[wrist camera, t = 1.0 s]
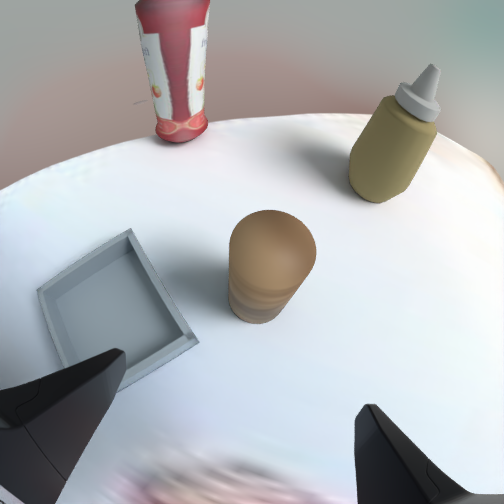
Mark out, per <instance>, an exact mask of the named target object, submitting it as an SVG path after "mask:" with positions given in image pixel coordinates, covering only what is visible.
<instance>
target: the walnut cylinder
mask: <svg viewBox="0 0 504 504" xmlns="http://www.w3.org/2000/svg"><path fill="white" fill-rule="evenodd" d="M315 259H316V245H315V241H314V239H313V236H312V234H311V233H310V231H309V230H308V228H307V227H306V226H305V225H304V224H303V223H302V222H301V221H300V220H298V219H297V218H295V217H294V216H292V215H290V214H288V213H285V212H281V211H276V210H262V211H258V212H255V213H252V214H250V215H248V216H246V217H245V218H243V219H242V220H241V221H240V222H239V223H238V224H237V225H236V227H235V228H234V230H233V232H232V234H231V238H230V243H229V284H228V299H229V304H230V307H231V309H232V310H233V312H234V313H235V314H236V315H237V316H238V317H239V318H240V319H242V320H244V321H246V322H248V323H253V324H262V323H266V322H269V321H271V320H272V319H274V318H275V317H276V316H277V315H278V314H279V313H280V312H281V311H282V309H283V308H284V307H285V305H286V304H287V303H288V301H289V300H290V299H291V297H292V296H293V295H294V293H295V292H296V291H297V289H298V288H299V287H300V285H301V284H302V282H303V281H304V280H305V278H306V277H307V276H308V274H309V273H310V271H311V270H312V268H313V266H314V263H315Z"/></svg>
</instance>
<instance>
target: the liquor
mask: <svg viewBox="0 0 504 504" xmlns="http://www.w3.org/2000/svg"><path fill="white" fill-rule="evenodd" d="M209 5H210V0H139V1H138V2H137V3H136V4H135V9H136V15H137V21H138V28H139V35H140V41H141V46H142V51H143V56H144V60H145V64H146V69H147V74H148V78H149V83H150V88H151V93H152V97H153V102H154V107H155V112H156V117H157V121H158V123H157V126H156V133H157V135H158V136H159V137H160V138H162V139H164V140H167V141H171V142H177V143H182V142H187V141H190V140H192V139H194V138H195V137H197V136H199V135H200V134H202V133H203V132H204V131H205V130H206V128H207V126H208V120H207V118H206V117H205V116H204V81H205V59H206V47H207V36H208V18H209Z"/></svg>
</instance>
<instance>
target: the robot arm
mask: <svg viewBox="0 0 504 504" xmlns="http://www.w3.org/2000/svg"><path fill="white" fill-rule="evenodd" d="M126 369H127V364H126V353H125V351H123V350H121V349H118V348H112V349H110V350H108V351H105V352H103V353H100V354H98V355H96V356H93V357H91V358H89V359H86V360H84V361H81V362H79V363H77V364H74V365H72V366H69V367H67V368H64V369H62V370H59V371H57V372H54V373H52V374H49V375H47V376H44V377H42V378H41V379H40V378H39V379H36V380H34V381H31V382H28V383H26V384H23V385H19V386H16V387H12V388H8V389H4V390H0V504H55V503H56V501H57V499H58V497H59V495H60V493H61V491H62V489H63V488H64V486H65V484H66V481H67V480H68V478H69V476H70V474H71V473H72V471H73V469H74V467H75V465H76V463H77V462H78V460H79V458H80V456H81V455H82V453H83V451H84V449H85V448H86V446H87V444H88V442H89V441H90V439H91V437H92V435H93V434H94V432H95V430H96V429H97V427H98V425H99V424H100V422H101V420H102V418H103V417H104V415H105V413H106V412H107V410H108V408H109V407H110V405H111V403H112V401H113V399H114V397H115V395H116V392H117V390H118V388H119V386H120V383H121V381H122V379H123V377H124V375H125V372H126ZM354 456H355V468H356V482H357V500H358V504H504V494H474V493H471V492H468V491H467V490H465V489H464V488H462V487H461V486H460V485H459V484H457V483H456V482H455V481H454V480H452V479H451V478H450V477H449V476H447V475H446V474H445V473H444V472H443V471H441V470H440V469H439V468H438V467H437V466H436V465H435V464H434V463H433V462H432V461H431V460H430V459H428V457H427V456H426V455H425V454H424V453H423V452H422V451H421V450H420V449H419V448H418V447H417V446H416V445H415V444H414V443H413V442H412V441H411V440H410V439H409V438H408V437H407V436H406V435H405V434H404V433H403V432H402V431H401V430H400V429H399V428H398V427H397V426H396V425H395V423H394V422H393V421H392V420H391V419H390V418H389V417H388V416H387V415H386V414H385V413H384V412H383V411H382V410H381V409H380V408H379V407H378V406H377V405H376V404H365V405H364V406H363V408H362V409H361V411H360V412H359V413H358V415H357V416H356V418H355V442H354Z"/></svg>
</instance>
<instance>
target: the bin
mask: <svg viewBox="0 0 504 504" xmlns="http://www.w3.org/2000/svg"><path fill="white" fill-rule="evenodd" d="M37 292H38V296H39V299H40V303H41V306H42V310H43V313H44V316H45V319H46V322H47V325H48V328H49V331H50V334H51V336H52V339H53V342H54V344H55V347H56V349H57V352H58V354H59V357H60V359H61V361H62V364H63V366H64V368H67V367H69V366H72V365H74V364H77V363H79V362H81V361H84V360H86V359H89V358H91V357H93V356H96V355H98V354H100V353H103V352H105V351H108V350H110V349H112V348H118V349H121V350H123V351H125V353H126V364H127V369H126V372H125V375H124V377H123V379H122V381H121V383H120V386H119V388H118V390H117V392H119V391H121V390H122V389H124V388H126V387H128V386H129V385H131V384H133V383H134V382H136V381H138V380H140V379H141V378H143V377H145V376H146V375H148V374H150V373H151V372H153V371H155V370H156V369H158V368H159V367H161V366H163V365H164V364H166V363H168V362H169V361H171V360H172V359H174V358H176V357H177V356H179V355H180V354H182V353H184V352H185V351H187V350H188V349H190V348H192V347H193V346H195V345H196V344H198V343H199V341H198V339H197V338H196V336H195V335H194V333H193V332H192V330H191V329H190V327H189V326H188V324H187V323H186V321H185V320H184V318H183V316H182V315H181V313H180V312H179V310H178V309H177V307H176V305H175V304H174V302H173V301H172V299H171V297H170V296H169V294H168V292H167V291H166V289H165V287H164V286H163V284H162V282H161V281H160V279H159V277H158V276H157V274H156V272H155V270H154V269H153V267H152V265H151V263H150V262H149V260H148V258H147V256H146V255H145V253H144V251H143V249H142V247H141V245H140V244H139V242H138V240H137V238H136V236H135V235H134V233H133V231H132V229H131V228H130V229H128V230H126V231H125V232H123V233H121V234H120V235H118V236H116V237H115V238H113V239H111V240H110V241H108V242H107V243H105V244H103V245H102V246H100V247H99V248H97V249H96V250H94V251H92V252H91V253H89V254H88V255H86V256H85V257H83V258H82V259H80V260H79V261H77V262H76V263H74V264H73V265H71V266H70V267H68V268H67V269H65V270H64V271H62V272H61V273H60V274H58V275H57V276H55V277H54V278H52V279H51V280H50V281H48V282H47V283H46V284H44V285H43V286H41V287H40V288H39V289H37ZM117 392H116V393H117Z"/></svg>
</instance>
